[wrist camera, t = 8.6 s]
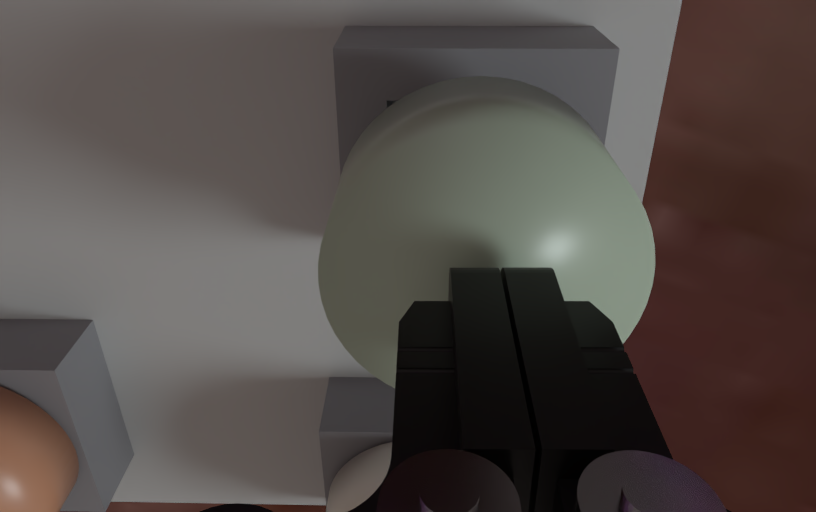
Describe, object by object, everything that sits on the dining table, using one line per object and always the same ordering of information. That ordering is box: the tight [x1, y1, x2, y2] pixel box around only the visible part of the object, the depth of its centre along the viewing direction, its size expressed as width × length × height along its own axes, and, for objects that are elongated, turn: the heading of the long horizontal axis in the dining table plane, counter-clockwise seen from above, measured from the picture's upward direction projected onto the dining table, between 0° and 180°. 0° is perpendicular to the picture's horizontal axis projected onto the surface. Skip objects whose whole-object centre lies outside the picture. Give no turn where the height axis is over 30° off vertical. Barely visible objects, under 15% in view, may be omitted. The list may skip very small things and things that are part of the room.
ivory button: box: [326, 442, 392, 512], centre depth 18 cm, size 5×5×5 cm
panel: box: [0, 0, 682, 512], centre depth 17 cm, size 18×22×3 cm
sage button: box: [318, 76, 655, 388], centre depth 12 cm, size 5×5×5 cm
